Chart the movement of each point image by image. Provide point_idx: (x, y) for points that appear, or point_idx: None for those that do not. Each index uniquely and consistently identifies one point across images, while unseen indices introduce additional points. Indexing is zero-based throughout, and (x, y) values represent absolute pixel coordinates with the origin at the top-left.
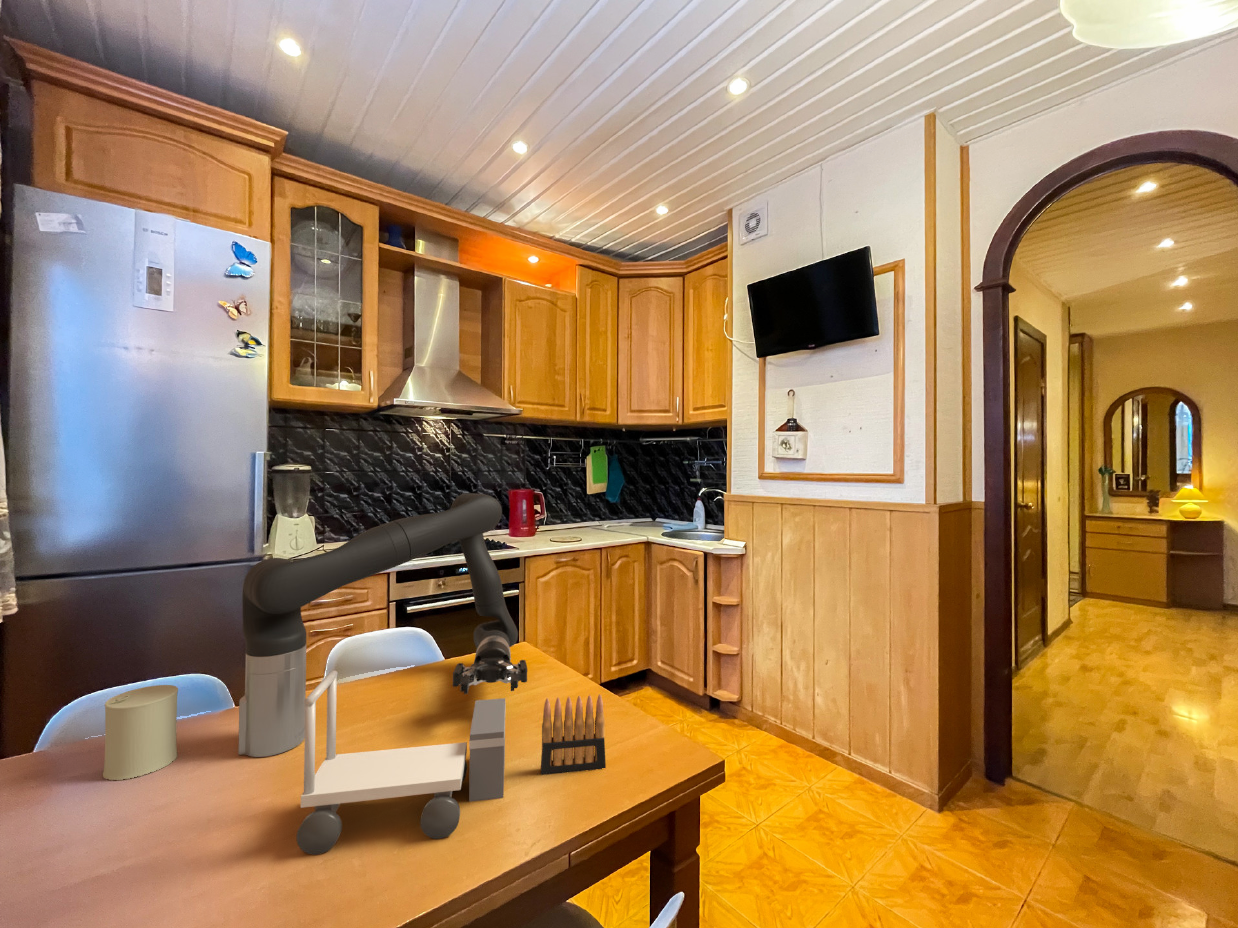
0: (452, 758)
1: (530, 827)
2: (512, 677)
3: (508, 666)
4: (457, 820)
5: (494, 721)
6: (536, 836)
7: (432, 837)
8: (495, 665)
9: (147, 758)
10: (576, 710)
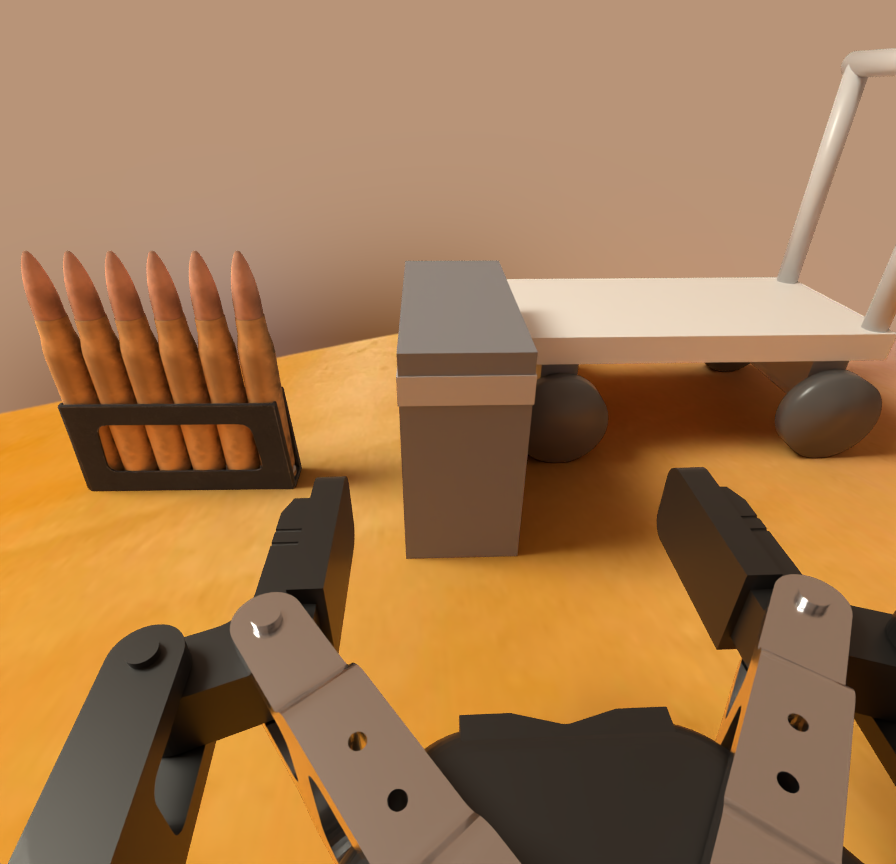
0: (535, 307)
1: (361, 369)
2: (325, 506)
3: (331, 681)
4: None
5: (435, 282)
6: (353, 358)
7: None
8: None
9: None
10: (139, 301)
